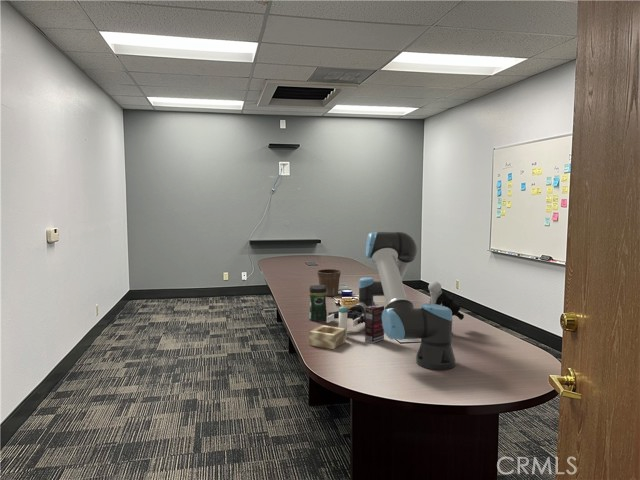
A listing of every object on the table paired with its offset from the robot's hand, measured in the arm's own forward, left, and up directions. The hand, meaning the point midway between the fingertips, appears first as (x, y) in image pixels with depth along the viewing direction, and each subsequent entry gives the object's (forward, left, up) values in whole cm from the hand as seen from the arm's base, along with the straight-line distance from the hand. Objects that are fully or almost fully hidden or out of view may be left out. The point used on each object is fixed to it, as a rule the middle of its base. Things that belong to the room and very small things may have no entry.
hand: (340, 321), depth 215 cm
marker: (0, -3, -8) cm, 8 cm away
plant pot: (+48, -84, -8) cm, 97 cm away
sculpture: (-39, -35, -8) cm, 53 cm away
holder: (+2, +9, -8) cm, 12 cm away
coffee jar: (+25, -25, -8) cm, 36 cm away
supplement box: (-15, -5, -8) cm, 18 cm away
